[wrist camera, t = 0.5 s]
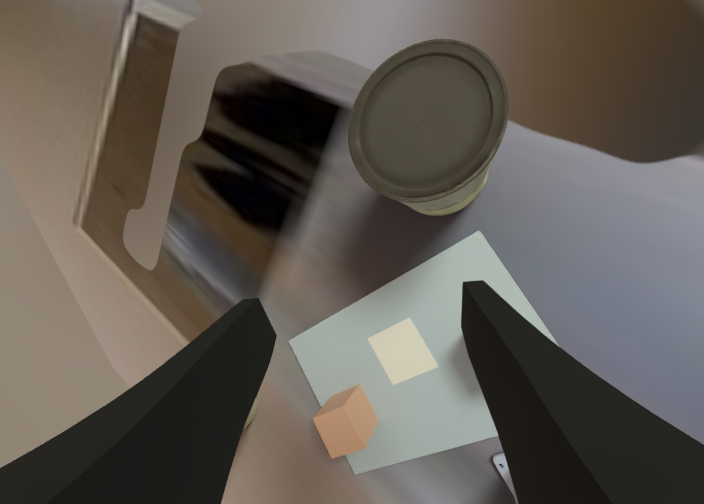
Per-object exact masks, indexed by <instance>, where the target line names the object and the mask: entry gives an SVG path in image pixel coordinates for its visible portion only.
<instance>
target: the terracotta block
mask: <svg viewBox="0 0 704 504" xmlns="http://www.w3.org/2000/svg"><path fill="white" fill-rule="evenodd" d="M312 419H313V421H314V423H315V425H316V427H317V429H318V431H319V434H320V436H321V438H322V440H323V442H324V444H325V446H326V448H327V450H328V452H329V454H330V456H331V458H332V459H333V458H337V457H340V456H343V455H346V454H349V453H353V452H356V451H359V450H362V449H365V448H366V446H367V444H368V442H369V440H370V438H371V435H372V433H373V431H374V429H375V427H376V425H377V423H378V421H379V420H378V418H377V416H376V414H375V412H374V410H373V408H372V406H371V404H370V403H369V401H368V399H367V397H366V395H365V393H364V391H363V389H362V388H361V386H360V384H358V385H356V386H353V387H351V388H349V389H346V390H344V391H342V392H340V393H337V394H335V395H333V396H331V397H330V398H329V399H328V401H327V402H326V403H325V404H324V405H323V406H322V408H321V409H320V410H319V411H318V412H317V414H316V415H315V416H314V417H313V418H312Z"/></svg>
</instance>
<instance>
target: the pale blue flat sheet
mask: <svg viewBox="0 0 704 504" xmlns="http://www.w3.org/2000/svg"><path fill="white" fill-rule="evenodd" d="M478 280H483V281H485V282H486V283H487V284H488V285H489V286H490V287H491V288H492V289H493V290H494V291H495V292H497V293H498V294H499V295H500V296H501V297H502V298H503V299H504V300H505V301H506V302H507V303H508V304H510V305H511V306H512V307H513V308H514V309H515V310H516V311H517V312H518V313H520V314H521V315H522V316H523V317H524V318H525V319H526V320H528V321H529V322H530V323H531V324H532V325H534V326H535V327H536V328H537V329H538V330H539V331H541V332H542V333H543V334H544V335H545V336H547V337H548V338H549V339H550V340H551V341H553V342H554V343H555V344H556V345H558V344H557V343H556V341H555V340H554V338H553V337H552V335H551V334H550V332H549V331H548V330H547V328H546V327H545V325H544V324H543V322H542V321H541V319H540V318H539V316H538V315H537V314H536V312H535V311H534V309H533V308H532V306H531V305H530V303H529V302H528V300H527V299H526V298H525V296H524V295H523V293H522V292H521V290H520V289H519V287H518V286H517V284H516V283H515V282H514V280H513V279H512V277H511V276H510V274H509V273H508V271H507V270H506V268H505V267H504V266H503V264H502V263H501V261H500V260H499V258H498V257H497V255H496V254H495V252H494V251H493V250H492V248H491V247H490V245H489V244H488V242H487V241H486V239H485V238H484V236H483V235H482V234H481V232H480V231H477V232H476V233H474V234H472V235H471V236H469V237H467V238H465V239H464V240H462V241H460V242H458V243H457V244H455V245H453V246H452V247H450V248H448V249H446V250H445V251H443V252H441V253H439V254H438V255H436V256H434V257H433V258H431V259H429V260H427V261H426V262H424V263H422V264H421V265H419V266H417V267H415V268H414V269H412V270H410V271H408V272H407V273H405V274H403V275H402V276H400V277H398V278H396V279H395V280H393V281H391V282H389V283H388V284H386V285H384V286H383V287H381V288H379V289H377V290H376V291H374V292H372V293H370V294H369V295H367V296H365V297H364V298H362V299H360V300H358V301H357V302H355V303H353V304H351V305H350V306H348V307H346V308H345V309H343V310H341V311H339V312H338V313H336V314H334V315H332V316H331V317H329V318H327V319H326V320H324V321H322V322H320V323H319V324H317V325H315V326H314V327H312V328H310V329H308V330H307V331H305V332H303V333H301V334H300V335H298V336H296V337H295V338H293V339H291V340H289V343H290V345H291V347H292V349H293V351H294V353H295V355H296V357H297V359H298V361H299V364H300V366H301V368H302V370H303V372H304V374H305V376H306V378H307V380H308V382H309V384H310V386H311V388H312V390H313V392H314V394H315V396H316V398H317V400H318V402H319V404H320V406H321V408H322V406H323V405H324V404H325V403H326V402H327V401H328V399H329V398H330V397H331V396H333V395H335V394H337V393H340V392H342V391H344V390H346V389H349V388H351V387H353V386H356V385H358V384H360V386H361V388H362V389H363V391H364V393H365V395H366V397H367V399H368V401H369V403H370V404H371V406H372V408H373V410H374V412H375V414H376V416H377V418H378V420H379V421H378V423H377V425H376V427H375V429H374V431H373V433H372V435H371V438H370V440H369V442H368V444H367V446H366V448H365V449H362V450H359V451H356V452H353V453H349V454H346V455H345V456H346V458H347V460H348V462H349V464H350V466H351V468H352V470H353V472H354V474H355V475H356V474H360V473H363V472H367V471H371V470H374V469H378V468H382V467H385V466H389V465H393V464H396V463H400V462H404V461H407V460H411V459H415V458H418V457H422V456H426V455H429V454H433V453H437V452H440V451H444V450H448V449H451V448H455V447H459V446H462V445H466V444H470V443H474V442H477V441H481V440H485V439H488V438H492V437H496V436H498V433H497V430H496V427H495V425H494V422H493V420H492V417H491V414H490V412H489V409H488V406H487V404H486V401H485V399H484V396H483V393H482V391H481V388H480V385H479V383H478V380H477V378H476V375H475V372H474V370H473V367H472V364H471V362H470V359H469V356H468V352H467V349H466V345H465V341H464V337H463V333H462V329H461V310H462V285H463V282H466V281H478Z"/></svg>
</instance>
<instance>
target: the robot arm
mask: <svg viewBox="0 0 704 504" xmlns="http://www.w3.org/2000/svg"><path fill="white" fill-rule="evenodd" d="M461 329H462V333H463V337H464V341H465V345H466V349H467V352H468V356H469V359H470V362H471V364H472V367H473V370H474V372H475V375H476V378H477V380H478V383H479V385H480V388H481V391H482V393H483V396H484V399H485V401H486V404H487V406H488V409H489V412H490V414H491V417H492V420H493V422H494V425H495V427H496V430H497V433H498V436H499V439H500V442H501V445H502V448H503V451H504V453H501V454H496V455H494V456H493V462H494V464H495V465H496V467H497V469H498V471H499V472H500V474H501V476H502V477H503V479H504V481H505V482H506V484H507V486H508V487H509V489H510V491H511V492H512V494H513V496H514V498H515V503H516V504H704V445H703V444H701V443H700V442H698V441H697V440H695V439H693V438H692V437H690V436H689V435H687V434H685V433H684V432H682V431H681V430H679V429H677V428H676V427H674V426H672V425H671V424H669V423H668V422H666V421H664V420H663V419H661V418H660V417H658V416H656V415H655V414H653V413H652V412H650V411H649V410H647V409H646V408H644V407H643V406H641V405H640V404H638V403H637V402H635V401H634V400H632V399H631V398H629V397H628V396H626V395H625V394H623V393H622V392H620V391H619V390H618V389H616V388H615V387H613V386H612V385H610V384H609V383H607V382H606V381H605V380H603V379H602V378H600V377H599V376H597V375H596V374H595V373H593V372H592V371H590V370H589V369H588V368H586V367H585V366H584V365H582V364H581V363H580V362H578V361H577V360H576V359H574V358H573V357H572V356H571V355H569V354H568V353H567V352H565V351H564V350H563V349H562V348H560V347H559V346H558V345H556V344H555V343H554V342H553V341H551V340H550V339H549V338H548V337H547V336H545V335H544V334H543V333H542V332H541V331H539V330H538V329H537V328H536V327H535V326H534V325H532V324H531V323H530V322H529V321H528V320H526V319H525V318H524V317H523V316H522V315H521V314H520V313H518V312H517V311H516V310H515V309H514V308H513V307H512V306H511V305H510V304H508V303H507V302H506V301H505V300H504V299H503V298H502V297H501V296H500V295H499V294H498V293H497V292H495V291H494V290H493V289H492V288H491V287H490V286H489V285H488V284H487V283H486V282H485V281H483V280H478V281H466V282H463V285H462V310H461ZM276 336H277V335H276V333H275V331H274V329H273V327H272V325H271V323H270V321H269V319H268V317H267V315H266V313H265V311H264V309H263V307H262V304H261V302H260V300H259V298H253V299H243V300H242V301H241V302H239V303H238V304H237V305H235V306H234V307H233V308H231V309H230V310H229V311H228V312H227V313H225V314H224V315H223V316H222V317H221V318H219V319H218V320H217V321H216V322H215V323H213V324H212V325H211V326H210V327H209V328H207V329H206V330H205V331H204V332H203V333H201V334H200V335H199V336H198V337H197V338H195V339H194V340H193V341H192V342H191V343H189V344H188V345H187V346H186V347H184V348H183V349H182V350H181V351H179V352H178V353H177V354H176V355H174V356H173V357H172V358H170V359H169V360H168V361H167V362H165V363H164V364H163V365H162V366H160V367H159V368H158V369H156V370H155V371H154V372H152V373H151V374H150V375H148V376H147V377H146V378H144V379H143V380H142V381H140V382H139V383H137V384H136V385H134V386H133V387H132V388H130V389H129V390H127V391H126V392H124V393H123V394H122V395H120V396H119V397H117V398H116V399H114V400H113V401H111V402H110V403H108V404H107V405H105V406H104V407H102V408H100V409H99V410H98V411H96V412H94V413H93V414H91V415H89V416H88V417H86V418H85V419H83V420H81V421H80V422H78V423H77V424H75V425H74V426H72V427H70V428H69V429H67V430H66V431H64V432H62V433H61V434H59V435H57V436H56V437H54V438H52V439H51V440H49V441H47V442H45V443H44V444H42V445H40V446H39V447H37V448H35V449H34V450H32V451H30V452H28V453H26V454H25V455H23V456H21V457H19V458H18V459H16V460H14V461H12V462H11V463H9V464H7V465H5V466H3V467H2V468H0V504H221V501H222V497H223V494H224V490H225V486H226V483H227V479H228V476H229V472H230V469H231V466H232V462H233V459H234V456H235V452H236V449H237V446H238V443H239V440H240V437H241V434H242V431H243V428H244V426H245V423H246V421H247V418H248V416H249V413H250V411H251V408H252V406H253V403H254V401H255V398H256V396H257V394H258V391H259V389H260V386H261V384H262V381H263V379H264V376H265V373H266V371H267V368H268V366H269V363H270V360H271V356H272V353H273V349H274V345H275V340H276ZM499 464H502V465H503V466H500V465H499Z"/></svg>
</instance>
